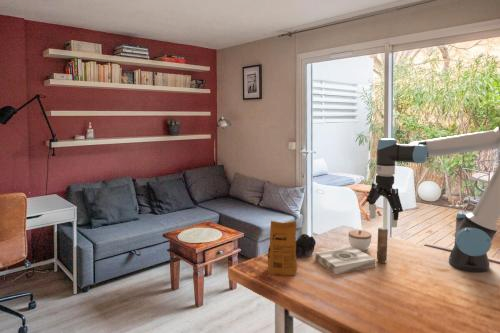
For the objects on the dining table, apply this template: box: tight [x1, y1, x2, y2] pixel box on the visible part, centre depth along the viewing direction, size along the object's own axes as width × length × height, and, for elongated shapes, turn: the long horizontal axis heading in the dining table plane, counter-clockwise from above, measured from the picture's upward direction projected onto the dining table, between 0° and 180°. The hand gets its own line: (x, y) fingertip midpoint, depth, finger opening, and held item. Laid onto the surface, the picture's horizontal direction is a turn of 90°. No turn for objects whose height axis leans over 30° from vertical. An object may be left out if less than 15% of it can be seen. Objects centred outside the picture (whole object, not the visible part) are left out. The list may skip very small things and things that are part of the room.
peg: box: [376, 227, 389, 264], centre depth 164 cm, size 4×4×15 cm
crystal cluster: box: [296, 233, 317, 258], centre depth 176 cm, size 13×14×10 cm
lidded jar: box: [348, 229, 372, 252], centre depth 181 cm, size 11×11×9 cm
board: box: [314, 246, 376, 275], centre depth 164 cm, size 16×20×4 cm
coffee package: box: [267, 220, 298, 277], centre depth 156 cm, size 10×12×22 cm
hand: (382, 222), depth 163 cm, fingers open, 13 cm apart
